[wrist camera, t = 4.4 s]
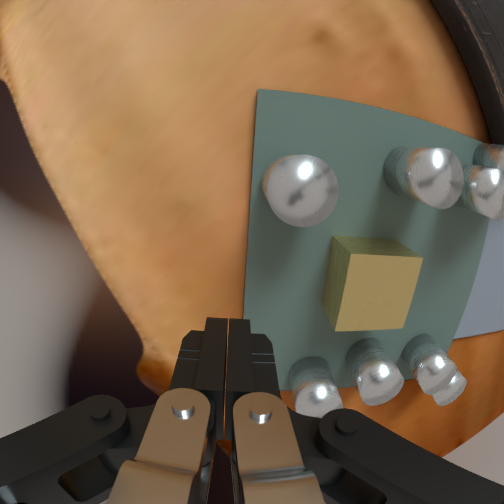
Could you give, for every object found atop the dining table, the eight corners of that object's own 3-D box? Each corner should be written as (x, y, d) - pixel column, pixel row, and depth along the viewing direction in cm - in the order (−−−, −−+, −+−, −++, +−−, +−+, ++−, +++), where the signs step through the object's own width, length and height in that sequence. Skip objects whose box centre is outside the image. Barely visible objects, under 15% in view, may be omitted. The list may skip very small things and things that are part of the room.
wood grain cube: (396, 240, 17) (423, 257, 14) (382, 303, 18) (402, 328, 15) (332, 235, 16) (350, 253, 13) (321, 303, 18) (334, 331, 15)
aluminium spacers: (497, 149, 14) (534, 154, 11) (436, 374, 21) (456, 401, 17) (267, 89, 14) (274, 69, 10) (245, 390, 20) (246, 431, 16)
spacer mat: (494, 148, 15) (497, 149, 14) (434, 371, 21) (436, 374, 21) (257, 90, 14) (257, 89, 14) (239, 386, 20) (239, 390, 20)
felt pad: (537, 214, 17) (540, 215, 16) (504, 327, 20) (506, 329, 20) (489, 199, 16) (492, 200, 16) (450, 336, 20) (453, 339, 20)
